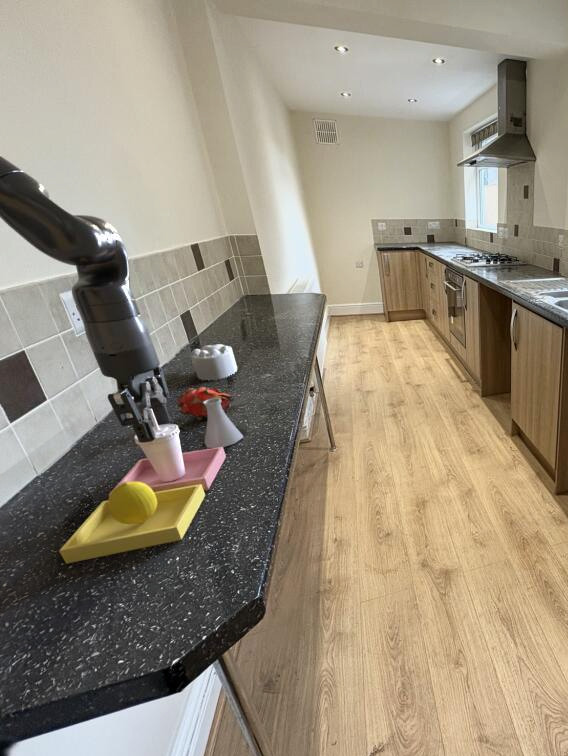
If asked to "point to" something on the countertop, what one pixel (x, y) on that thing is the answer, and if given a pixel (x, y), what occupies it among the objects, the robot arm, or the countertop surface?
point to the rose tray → (197, 471)
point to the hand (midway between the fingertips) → (156, 431)
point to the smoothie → (164, 450)
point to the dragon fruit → (201, 401)
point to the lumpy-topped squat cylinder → (214, 362)
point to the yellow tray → (135, 526)
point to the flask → (219, 426)
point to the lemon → (132, 503)
